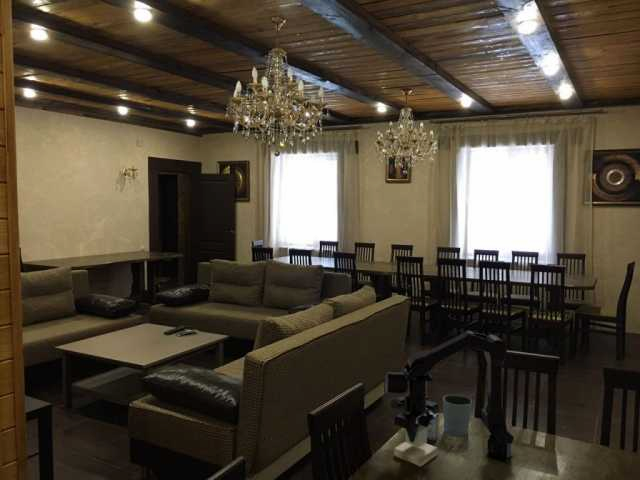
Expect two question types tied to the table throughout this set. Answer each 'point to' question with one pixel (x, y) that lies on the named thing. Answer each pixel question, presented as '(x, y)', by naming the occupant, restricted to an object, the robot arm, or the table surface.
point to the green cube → (418, 437)
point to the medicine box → (432, 427)
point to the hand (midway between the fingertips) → (416, 439)
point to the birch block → (415, 453)
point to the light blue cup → (456, 414)
